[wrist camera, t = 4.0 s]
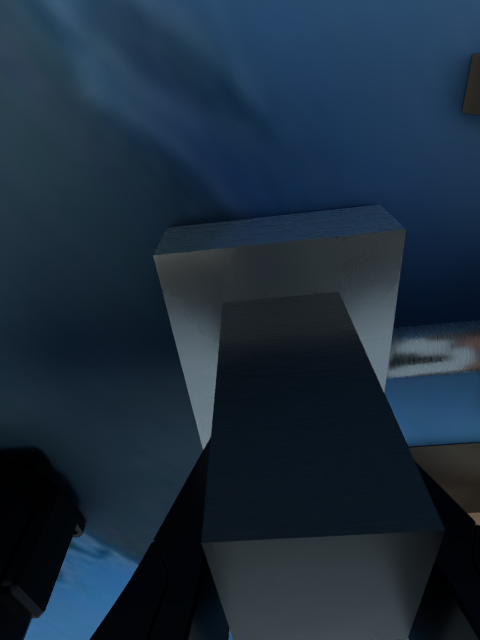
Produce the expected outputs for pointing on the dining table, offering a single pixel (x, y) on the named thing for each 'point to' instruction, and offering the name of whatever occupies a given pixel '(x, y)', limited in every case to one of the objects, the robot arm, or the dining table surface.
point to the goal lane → (460, 459)
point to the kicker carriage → (307, 419)
